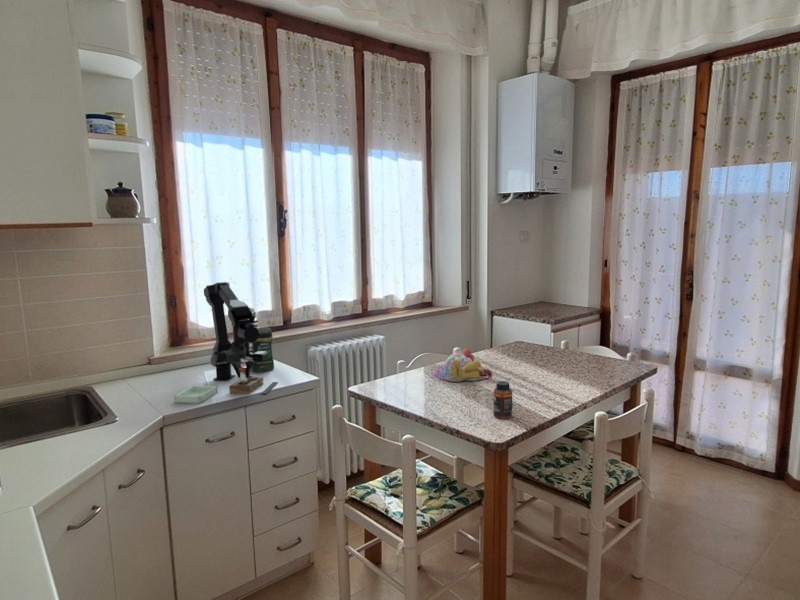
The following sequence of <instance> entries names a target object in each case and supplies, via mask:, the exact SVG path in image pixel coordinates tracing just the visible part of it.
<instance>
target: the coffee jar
mask: <svg viewBox="0 0 800 600" xmlns="http://www.w3.org/2000/svg"><path fill="white" fill-rule="evenodd" d="M257 330H258V331H259V337H258V339H257V340H256V341H254V342H252V354H254V353H256V352H257V351H266V352H267V353H268V359H266V360H264V361H263V362H255V363H254V365H253V368H252V372H256V373H257V372H258V373H260V372H268V371H272V370H273V369H274V368H275V360H274V356H273V348H272V347H273V345H272V341H273V338H274V337H273V331H272V329H271V328H270V327H267V328H258V329H257Z"/></svg>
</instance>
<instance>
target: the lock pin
mask: <svg viewBox="0 0 800 600" xmlns="http://www.w3.org/2000/svg"><path fill="white" fill-rule="evenodd" d="M238 370H240V378H239V379H240V381H241V384H245V385H247V384H248V380H247V375H246V365H241V366H240V367H238Z"/></svg>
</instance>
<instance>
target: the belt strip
mask: <svg viewBox="0 0 800 600" xmlns="http://www.w3.org/2000/svg"><path fill="white" fill-rule="evenodd" d="M278 383H279V382H278V381H273V382H271V384H269V385H268V386H267V387H266V388H265V389H264V390H263V391H262V392H261V393H260V394H261V395H267V394H269V393H270V392H271V391H272V390H273V388H275V387H276V386H277V385H278Z"/></svg>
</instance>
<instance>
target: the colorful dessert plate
mask: <svg viewBox="0 0 800 600" xmlns="http://www.w3.org/2000/svg"><path fill="white" fill-rule="evenodd" d="M474 356H475V355H474V354H472V351H471V350H470V349H469V348H464V349H463V350H462V351H461V353H459V352H454V353H452V354H450V355H449V357H447V359H446V360H445V362H440V363H437V370H435V373H434V376H435V377H436V378H437V379H439V380H443V381H444V380H446V381H448V382H455V383H456V382H462V381H479V380H484V379H488V378H489V377H492V371H491V370H490V369H489V368H488V369H486V368H484V367H483V366H481V365H482V364H481V362H480V361H479V360H478V359H475V357H474Z"/></svg>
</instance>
